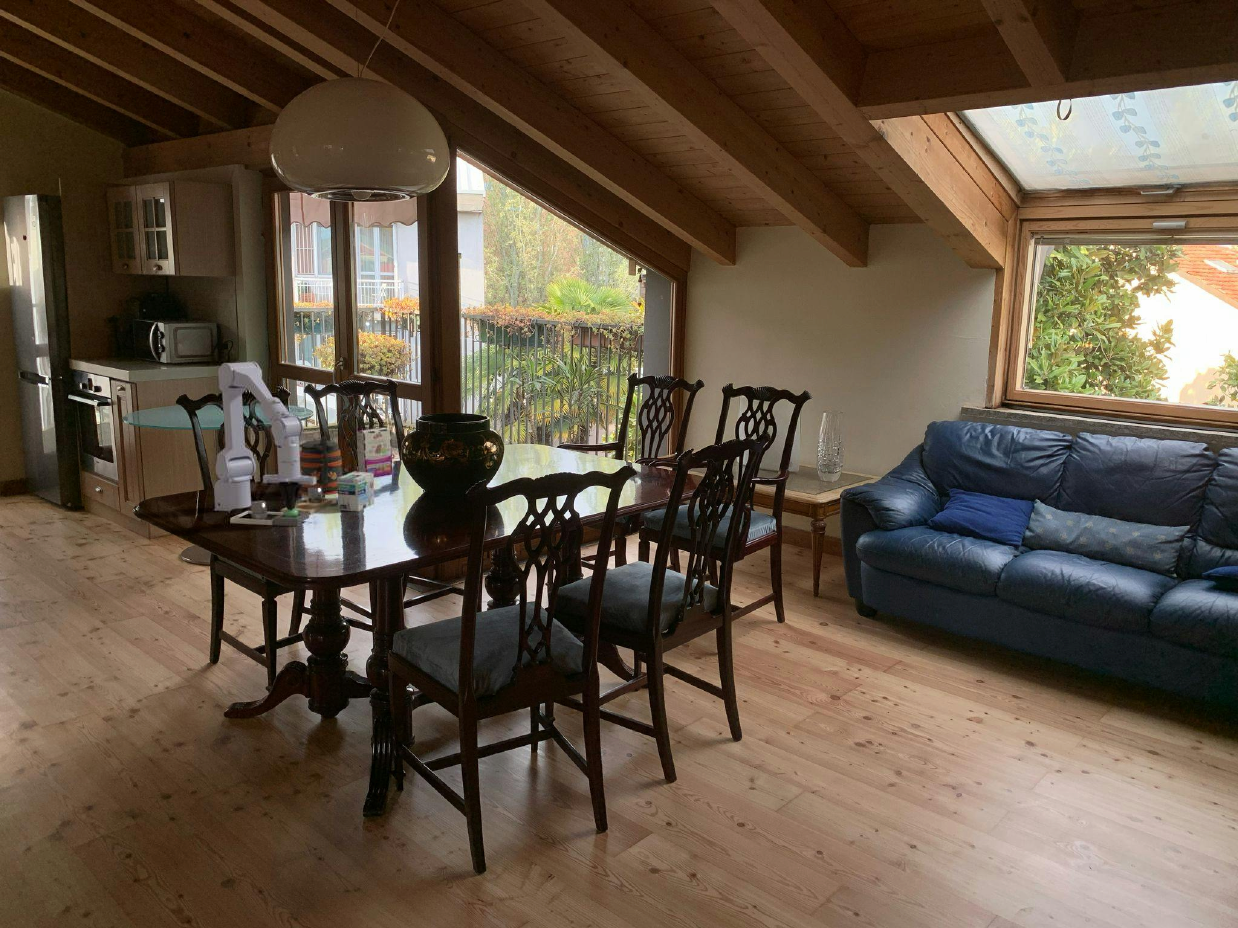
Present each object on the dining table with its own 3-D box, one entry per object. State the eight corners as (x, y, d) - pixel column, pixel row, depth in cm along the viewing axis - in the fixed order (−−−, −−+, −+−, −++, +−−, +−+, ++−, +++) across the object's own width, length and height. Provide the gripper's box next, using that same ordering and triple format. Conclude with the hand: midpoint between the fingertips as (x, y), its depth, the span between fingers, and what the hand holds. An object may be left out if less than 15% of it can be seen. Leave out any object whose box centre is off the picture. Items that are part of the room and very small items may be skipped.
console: (273, 526, 256) (273, 517, 255) (285, 520, 262) (285, 511, 262) (297, 527, 255) (297, 519, 254) (309, 521, 262) (309, 513, 261)
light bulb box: (358, 515, 270) (357, 479, 268) (337, 513, 271) (336, 477, 269) (375, 507, 280) (374, 472, 278) (354, 505, 282) (353, 470, 280)
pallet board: (280, 517, 266) (280, 509, 265) (307, 504, 282) (307, 497, 282) (310, 518, 265) (310, 511, 264) (335, 505, 281) (335, 498, 281)
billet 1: (249, 521, 259) (248, 503, 258) (256, 517, 263) (255, 500, 262) (262, 521, 259) (261, 504, 258) (269, 518, 262) (268, 501, 262)
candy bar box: (384, 472, 332) (383, 427, 329) (393, 474, 329) (391, 428, 326) (357, 476, 324) (356, 430, 321) (365, 478, 321) (364, 431, 318)
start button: (282, 518, 257) (281, 511, 256) (288, 515, 260) (288, 508, 260) (294, 519, 256) (294, 511, 256) (300, 515, 260) (300, 508, 259)
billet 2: (306, 505, 276) (305, 488, 275) (312, 502, 280) (311, 485, 279) (319, 505, 276) (318, 489, 275) (325, 502, 279) (324, 486, 278)
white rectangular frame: (230, 524, 257) (230, 518, 257) (247, 516, 266) (247, 510, 266) (272, 526, 256) (271, 520, 255) (287, 518, 265) (287, 512, 264)
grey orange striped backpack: (355, 499, 290) (353, 435, 287) (307, 503, 283) (304, 439, 279) (339, 487, 306) (337, 427, 303) (293, 491, 299) (290, 430, 295)
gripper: (256, 462, 252) (259, 510, 255) (307, 464, 251) (309, 513, 253) (269, 457, 259) (271, 505, 262) (318, 459, 257) (320, 507, 260)
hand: (291, 508), depth 258 cm, fingers closed
